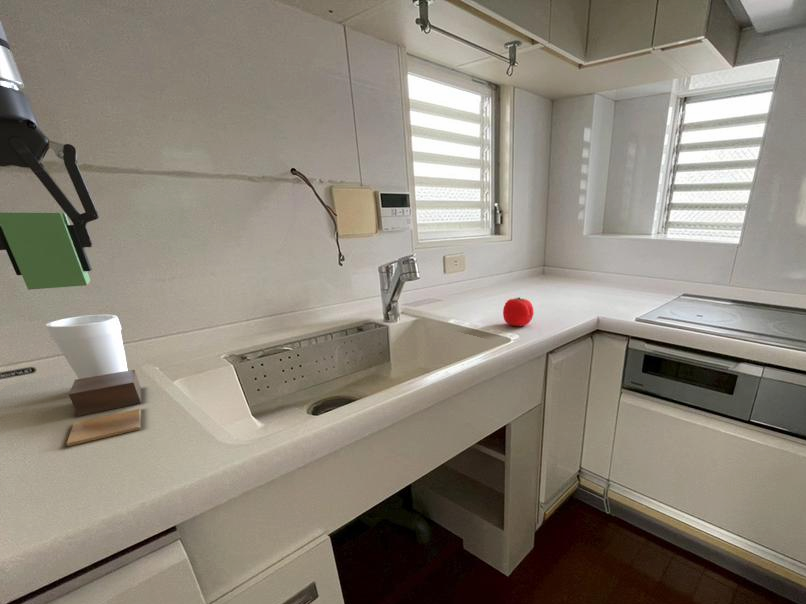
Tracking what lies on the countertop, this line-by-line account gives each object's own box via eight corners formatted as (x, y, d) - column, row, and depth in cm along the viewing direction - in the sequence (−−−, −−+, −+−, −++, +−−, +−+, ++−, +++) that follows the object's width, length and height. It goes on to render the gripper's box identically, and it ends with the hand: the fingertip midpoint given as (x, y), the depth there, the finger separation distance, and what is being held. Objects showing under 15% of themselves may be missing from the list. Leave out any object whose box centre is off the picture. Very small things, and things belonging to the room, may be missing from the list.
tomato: (506, 329, 118) (506, 301, 115) (499, 321, 127) (499, 294, 124) (536, 328, 120) (537, 300, 116) (527, 320, 129) (528, 294, 126)
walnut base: (83, 400, 72) (74, 379, 70) (141, 389, 76) (134, 369, 75) (77, 416, 66) (68, 394, 65) (141, 403, 71) (133, 382, 69)
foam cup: (151, 379, 81) (129, 316, 76) (97, 398, 73) (69, 328, 68) (117, 374, 83) (94, 313, 78) (61, 392, 75) (32, 324, 70)
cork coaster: (74, 425, 63) (73, 422, 63) (140, 411, 68) (139, 408, 68) (67, 446, 57) (66, 443, 57) (140, 429, 62) (139, 426, 62)
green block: (35, 284, 60) (5, 212, 57) (90, 280, 64) (65, 213, 60) (27, 289, 56) (-6, 212, 52) (87, 285, 60) (60, 212, 56)
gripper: (-166, 59, 42) (-55, 281, 51) (83, 92, 54) (140, 269, 62) (-132, 76, 48) (-37, 275, 56) (88, 103, 59) (140, 265, 68)
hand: (56, 271), depth 59 cm, fingers closed on green block, 6 cm apart
